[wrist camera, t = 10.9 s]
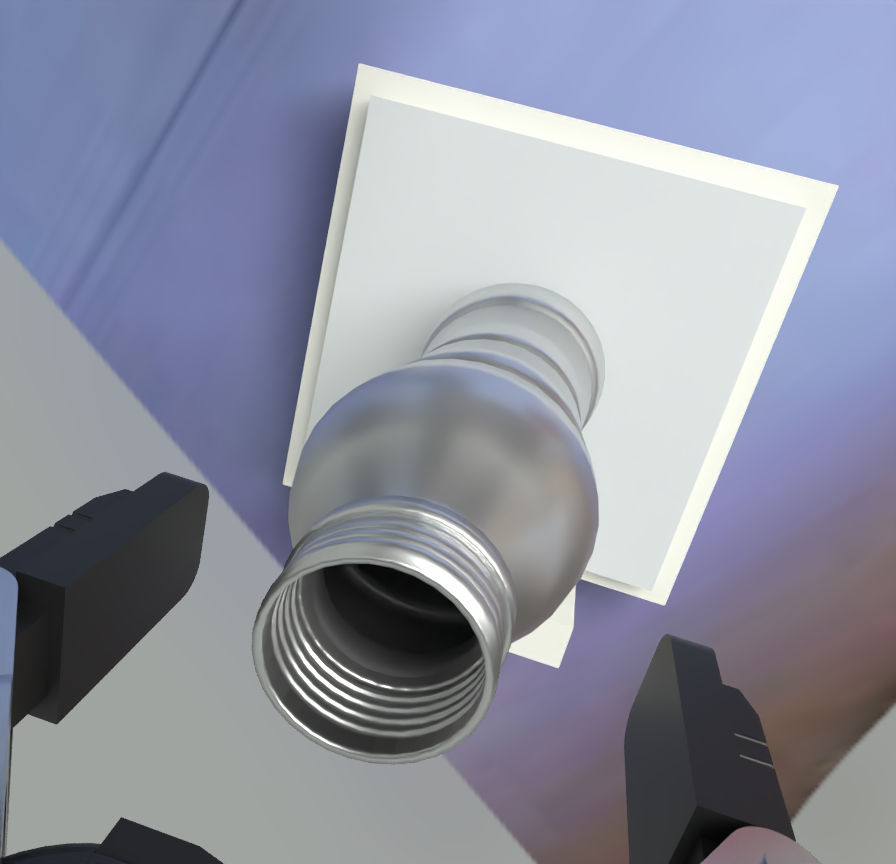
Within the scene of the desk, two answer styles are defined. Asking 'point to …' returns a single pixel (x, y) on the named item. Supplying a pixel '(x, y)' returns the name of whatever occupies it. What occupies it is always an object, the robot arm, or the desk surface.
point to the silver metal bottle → (435, 529)
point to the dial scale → (567, 289)
